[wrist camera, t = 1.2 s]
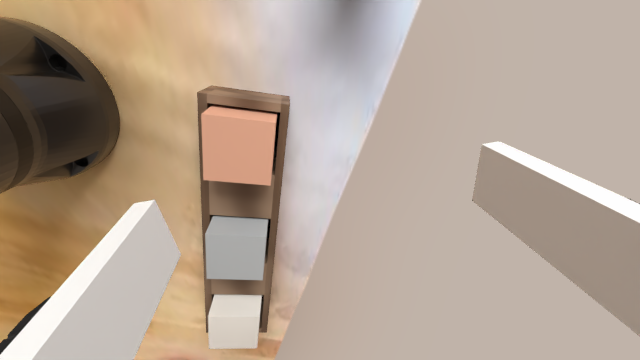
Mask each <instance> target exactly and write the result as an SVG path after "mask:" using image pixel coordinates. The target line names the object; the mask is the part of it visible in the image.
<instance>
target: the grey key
mask: <svg viewBox="0 0 640 360" xmlns="http://www.w3.org/2000/svg"><path fill="white" fill-rule="evenodd" d="M267 230H268V218H253V217H237V216H222V215H213V217H212V220H211V222H210V224H209V226H208V229H207V231H206V233H205V243H206V274H207V279H233V280H263V273H264V263H265V253H266V242H267Z"/></svg>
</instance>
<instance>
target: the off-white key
mask: <svg viewBox="0 0 640 360" xmlns="http://www.w3.org/2000/svg"><path fill="white" fill-rule="evenodd" d="M261 302H262V295H232V294H214V298H213V301H212V304H211V308H210V311H209V315H208V334H209V349H240V348H257V344H258V334H259V324H260V314H261Z"/></svg>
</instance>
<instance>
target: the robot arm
mask: <svg viewBox="0 0 640 360" xmlns="http://www.w3.org/2000/svg"><path fill="white" fill-rule="evenodd" d="M118 133H119V113H118V109H117V105H116V102H115V99H114V96H113V94H112V92H111V90H110V88H109V86H108V84H107V82H106V81H105V79H104V78H103V76H102V75H101V73H100V72H99V71H98V69H97V68H96V67H95V66H94V65H93V64H92V62H91V61H90V60H89V59H88V58H87V57H86V56H85V55H84V54H82V53H81V52H80V51H79V50H78V49H77V48H75V47H74V46H73V45H72V44H70V43H69V42H67V41H66V40H64V39H63V38H61V37H60V36H58V35H56V34H55V33H53V32H51V31H49V30H47V29H45V28H43V27H40V26H38V25H35V24H32V23H29V22H26V21H22V20H19V19H13V18H6V17H0V193H2V192H4V191H6V190H8V189H10V188H12V187H16V186H22V185H28V184H35V183H41V182H47V181H53V180H59V179H64V178H69V177H72V176H75V175H78V174H80V173H82V172H84V171H86V170H88V169H89V168H91V167H93V166H94V165H96V164H98V163H99V162H101V161H102V160H103V159H104V158H106V157H107V155H108V154H109V153H110V152H111V150H112V149H113V147H114V145H115V143H116V140H117V137H118ZM472 201H474V202H475V203H476V204H477V205H478V206H479V207H481V208H482V209H483V210H484V211H486V212H487V213H488V214H489V215H491V216H492V217H493V218H494V219H496V220H497V221H498V222H499V223H500V224H502V225H503V226H504V227H505V228H507V229H508V230H509V231H510V232H512V233H513V234H514V235H515V236H516V237H518V238H519V239H520V240H521V241H523V242H524V243H525V244H526V245H528V246H529V247H530V248H531V249H532V250H534V251H535V252H536V253H538V254H539V255H540V256H541V257H542V258H544V259H545V260H546V261H547V262H549V263H550V264H551V265H552V266H554V267H555V268H556V269H557V270H559V271H560V272H561V273H562V274H564V275H565V276H566V277H567V278H568V279H569V280H571V281H572V282H573V283H575V284H576V285H577V286H578V287H579V288H581V289H582V290H583V291H584V292H585V293H587V294H588V295H589V296H591V297H592V298H593V299H595V300H596V301H597V302H598V303H599V304H600V305H602V306H603V307H604V308H605V309H606V310H608V311H609V312H610V313H611V314H613V315H614V316H615V317H616V318H618V319H619V320H620V321H621V322H623V323H624V324H625V325H626V326H628V327H629V328H630V329H631V330H632V331H634V332H635V333H636V334H637V335H639V336H640V203H638V202H635V201H633V200H631V199H629V198H626V197H623V196H621V195H618V194H616V193H614V192H612V191H609V190H607V189H605V188H602V187H600V186H598V185H596V184H594V183H591V182H589V181H587V180H585V179H582V178H580V177H578V176H576V175H574V174H571V173H569V172H567V171H564V170H562V169H560V168H557V167H555V166H553V165H551V164H549V163H546V162H544V161H542V160H540V159H538V158H535V157H533V156H531V155H529V154H526V153H524V152H522V151H519V150H517V149H515V148H513V147H511V146H509V145H506V144H504V143H501V142H492V143H487V144H482V146H481V152H480V158H479V164H478V170H477V176H476V181H475V187H474V193H473V199H472ZM180 256H181V253H180V251H179V249H178V247H177V245H176V243H175V241H174V239H173V237H172V234H171V232H170V230H169V228H168V226H167V224H166V222H165V220H164V218H163V215H162V213H161V211H160V209H159V207H158V205H157V203H156V201H155V200H150V201H145V202H139V203H134V204H133V205H132V206H131V207H130V208H129V210H128V211H127V212H126V213H125V214H124V215H123V216H122V218H121V219H120V220H119V221H118V222H117V223H116V224H115V225H114V227H113V228H112V229H111V230H110V231H109V232H108V233H107V234H106V236H105V237H104V238H103V239H102V240H101V241H100V242H99V244H98V245H97V246H96V247H95V248H94V249H93V250H92V251H91V253H90V254H89V255H88V256H87V257H86V258H85V259H84V260H83V262H82V263H81V264H80V265H79V266H78V267H77V268H76V270H75V271H74V272H73V273H72V274H71V275H70V276H69V277H68V279H67V280H66V281H65V282H64V283H63V284H62V285H61V287H60V288H59V289H58V290H57V291H56V292H55V293H54V294H53V296H52V297H49V298H47V299H46V300H45V301H44V302H42V303H41V304H40V305H38V306H37V307H36V308H35V309H33V310H32V311H31V312H30V313H28V314H27V315H26V316H25V317H24V318H23V319H22V320H21V321H20V322H19V323H18V325H17V326H16V327H15V328H14V329H13V330H12V331H11V332H10V333H9V334H8V335H7V336H8V338H7V339H4V340H3V341H2V342H1V343H0V360H134V358H135V355H136V353H137V351H138V349H139V347H140V344H141V342H142V340H143V338H144V335H145V333H146V331H147V329H148V327H149V324H150V322H151V320H152V318H153V316H154V313H155V311H156V309H157V307H158V304H159V302H160V300H161V298H162V296H163V293H164V291H165V289H166V287H167V284H168V282H169V280H170V278H171V276H172V273H173V271H174V269H175V267H176V264H177V262H178V260H179V258H180Z"/></svg>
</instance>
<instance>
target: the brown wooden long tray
mask: <svg viewBox="0 0 640 360" xmlns="http://www.w3.org/2000/svg"><path fill="white" fill-rule="evenodd" d="M197 98H198V125H199V151H200V177H201V203H202V230H203V256H204V282H205V309H206V333H208V315H209V311H210V308H211V304H212V301H213V298H214V294H232V295H264V299H262V302H261V314H260V324H259V332H267V323H268V313H269V303H270V294H271V284H272V274H273V264H274V254H275V245H276V235H277V225H278V215H279V205H280V195H281V186H282V176H283V166H284V156H285V146H286V137H287V127H288V117H289V107H290V100H289V96H282V95H275V94H268V93H261V92H253V91H246V90H239V89H232V88H225V87H217V86H210V87H208V88H206V89H204V90H201V91H199V92H197ZM213 104H219V105H227V106H235V107H243V108H250V109H258V110H266V111H274V112H280V122H279V133H278V145H277V156H276V158H274V159H273V169H272V178H271V186H269V185H257V184H245V183H233V182H221V181H209V180H203V153H202V123H201V114H202V113H203V112H204V111H206V110H207V109H208V108H209V107H211V106H212V105H213ZM213 215H222V216H237V217H253V218H268V219H271V224H270V235H269V238H267V242H266V253H265V263H264V273H263V280H233V279H207V274H206V243H205V233H206V231H207V229H208V226H209V224H210V222H211V220H212V217H213Z"/></svg>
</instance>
